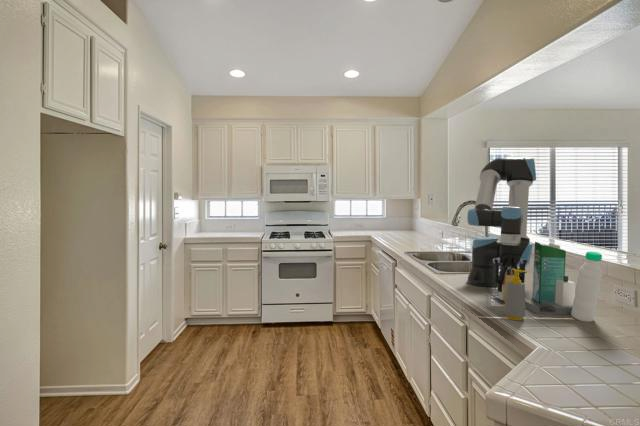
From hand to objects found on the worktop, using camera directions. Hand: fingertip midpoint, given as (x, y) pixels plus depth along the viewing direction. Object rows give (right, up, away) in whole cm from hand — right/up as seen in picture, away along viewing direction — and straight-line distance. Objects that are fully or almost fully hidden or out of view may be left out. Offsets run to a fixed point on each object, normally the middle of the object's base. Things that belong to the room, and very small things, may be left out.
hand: (507, 299), depth 161 cm
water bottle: (+18, -3, -20) cm, 27 cm away
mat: (0, -1, 0) cm, 1 cm away
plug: (0, 0, 0) cm, 0 cm away
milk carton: (+17, -2, +1) cm, 17 cm away
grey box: (+13, -2, -12) cm, 18 cm away
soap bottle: (-7, -3, -20) cm, 21 cm away
